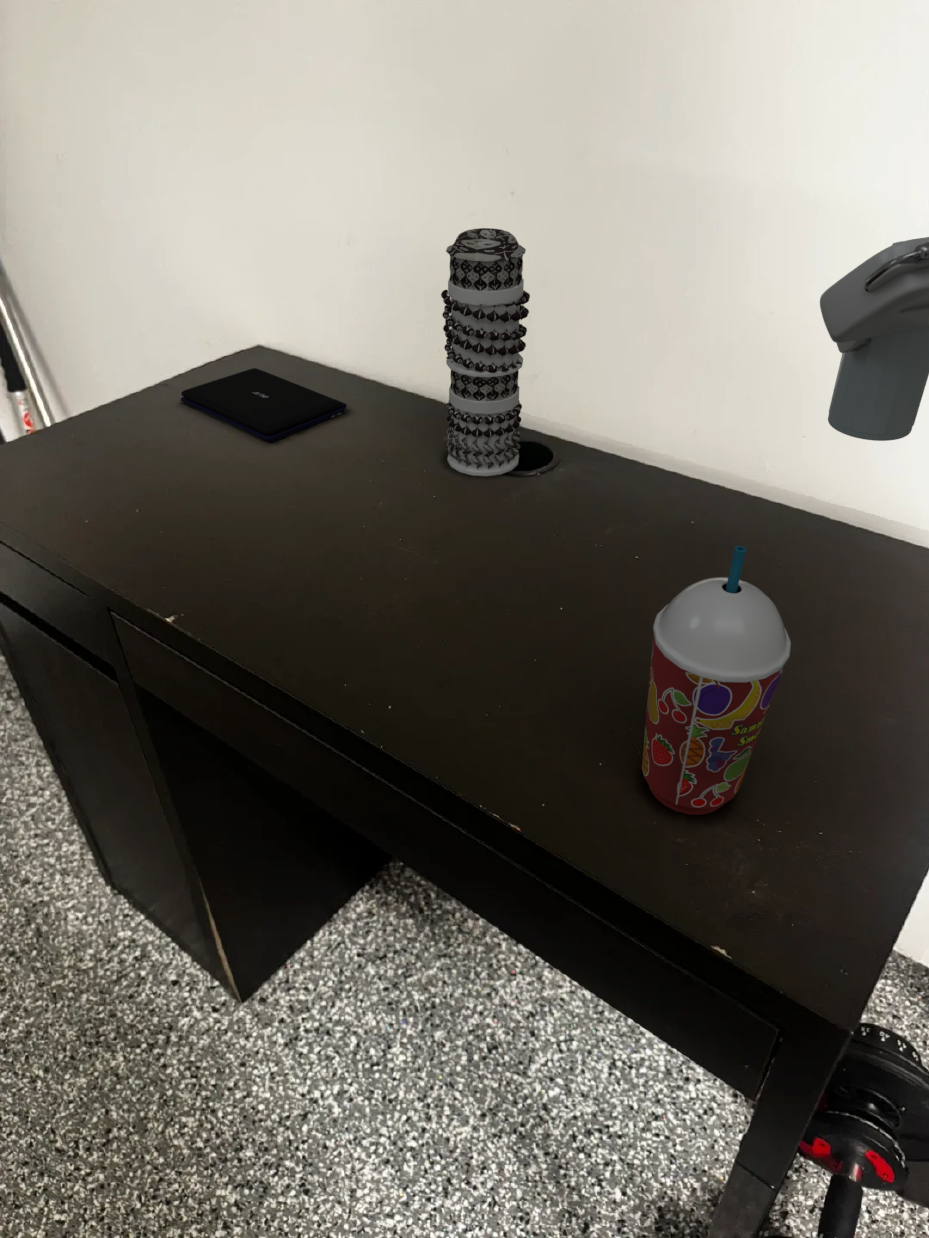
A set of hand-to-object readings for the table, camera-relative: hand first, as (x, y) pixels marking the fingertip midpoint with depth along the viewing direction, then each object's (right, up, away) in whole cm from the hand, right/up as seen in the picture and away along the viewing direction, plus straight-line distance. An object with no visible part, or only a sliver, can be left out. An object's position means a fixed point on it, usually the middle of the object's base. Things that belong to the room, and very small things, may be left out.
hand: (886, 336), depth 70 cm
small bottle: (0, -6, +4) cm, 7 cm away
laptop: (-59, +5, +46) cm, 75 cm away
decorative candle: (-31, -4, +35) cm, 47 cm away
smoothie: (-17, -34, -6) cm, 39 cm away
